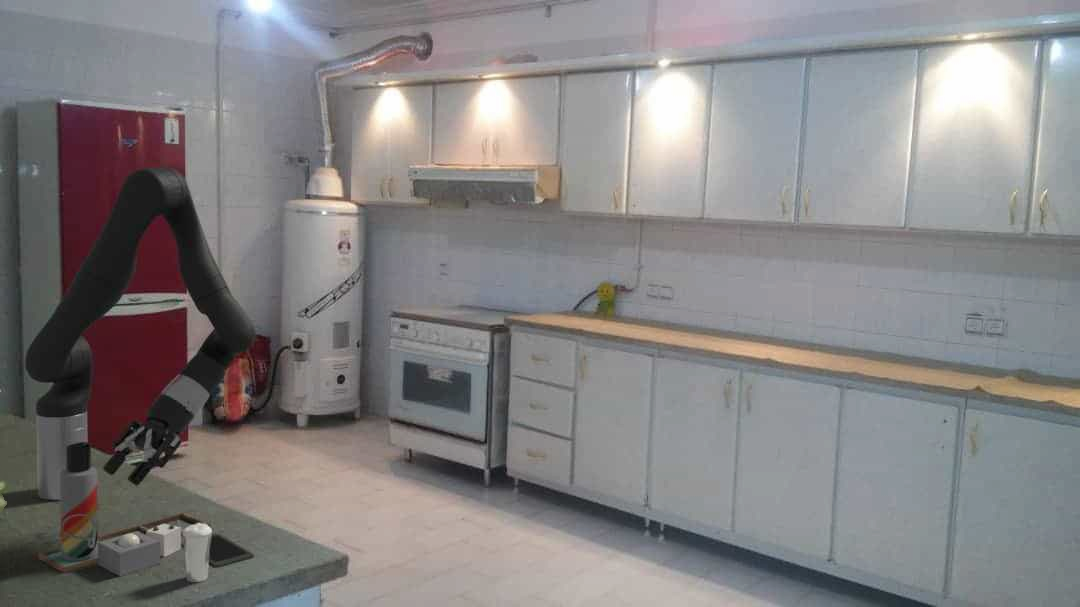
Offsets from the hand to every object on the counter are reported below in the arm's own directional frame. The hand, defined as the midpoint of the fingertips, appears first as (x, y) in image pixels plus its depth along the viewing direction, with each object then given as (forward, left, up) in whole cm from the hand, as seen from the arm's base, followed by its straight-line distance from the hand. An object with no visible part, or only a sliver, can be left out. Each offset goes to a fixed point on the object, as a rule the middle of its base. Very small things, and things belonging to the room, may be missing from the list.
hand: (119, 477), depth 157 cm
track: (0, +2, -12) cm, 13 cm away
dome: (+9, -3, -12) cm, 15 cm away
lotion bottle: (0, -7, -12) cm, 14 cm away
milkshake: (+22, +1, -13) cm, 25 cm away
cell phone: (+15, +10, -13) cm, 22 cm away
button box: (+9, -3, -12) cm, 16 cm away
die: (+8, +4, -13) cm, 15 cm away
